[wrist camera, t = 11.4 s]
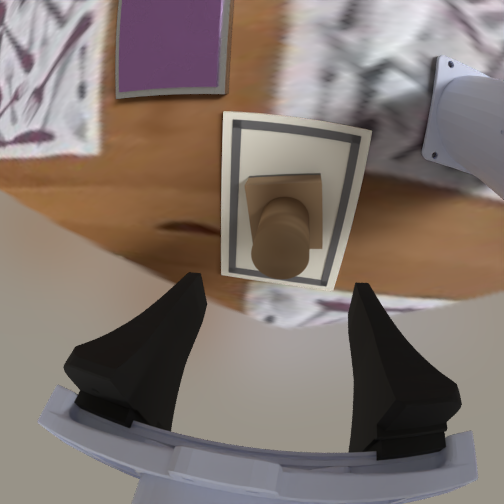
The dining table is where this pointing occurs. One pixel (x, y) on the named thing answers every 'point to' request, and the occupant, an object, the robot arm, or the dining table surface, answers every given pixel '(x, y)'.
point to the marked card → (290, 162)
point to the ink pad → (173, 47)
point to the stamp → (284, 221)
